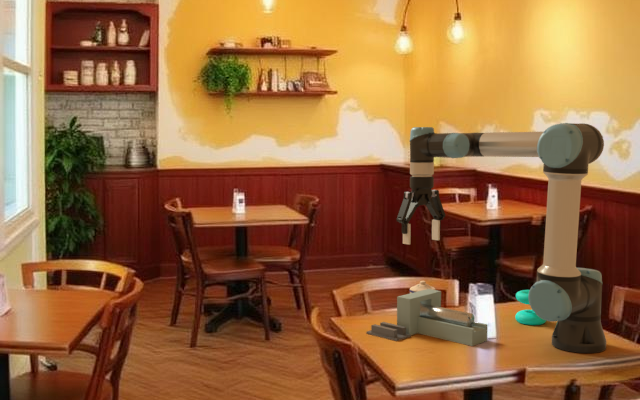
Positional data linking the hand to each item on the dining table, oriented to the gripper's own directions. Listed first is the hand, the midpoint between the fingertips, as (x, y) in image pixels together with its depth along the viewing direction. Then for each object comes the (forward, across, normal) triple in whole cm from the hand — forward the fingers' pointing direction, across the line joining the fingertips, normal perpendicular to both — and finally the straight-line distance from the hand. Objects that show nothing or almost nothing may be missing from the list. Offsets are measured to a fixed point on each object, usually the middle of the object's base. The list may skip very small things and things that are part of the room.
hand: (421, 242), depth 244 cm
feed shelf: (+27, +3, +16) cm, 31 cm away
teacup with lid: (+27, -12, -10) cm, 31 cm away
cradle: (+27, +16, +2) cm, 32 cm away
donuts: (+28, -31, +20) cm, 46 cm away
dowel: (+23, +3, +12) cm, 26 cm away
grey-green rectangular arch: (+27, +4, +3) cm, 28 cm away
